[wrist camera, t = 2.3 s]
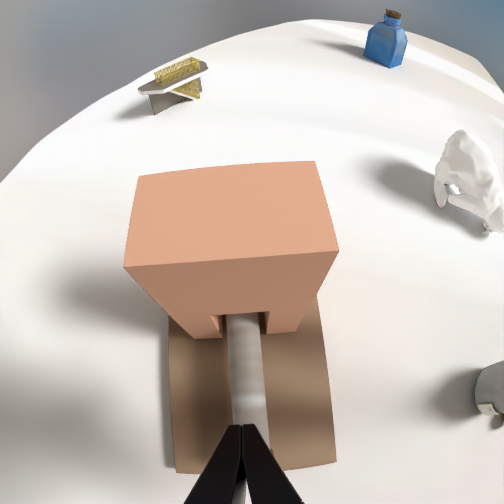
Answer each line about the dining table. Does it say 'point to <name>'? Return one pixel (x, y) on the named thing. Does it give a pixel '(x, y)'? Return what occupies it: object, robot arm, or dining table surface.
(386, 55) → the perfume bottle
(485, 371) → the reed diffuser
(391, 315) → the dining table surface
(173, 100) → the platform
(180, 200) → the peach rectangular block
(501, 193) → the white lumpy figurine
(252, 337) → the pipe rig
